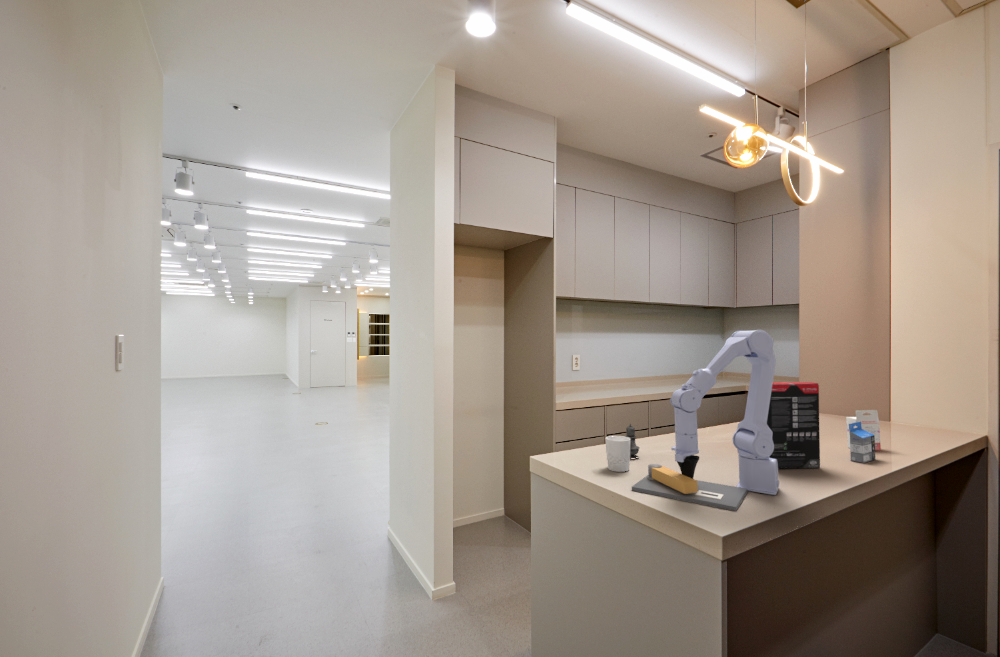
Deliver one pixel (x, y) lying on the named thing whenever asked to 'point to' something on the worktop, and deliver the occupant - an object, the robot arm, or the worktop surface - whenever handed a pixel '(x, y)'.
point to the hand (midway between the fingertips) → (688, 482)
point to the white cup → (618, 453)
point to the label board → (696, 493)
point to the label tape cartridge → (861, 444)
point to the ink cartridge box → (866, 425)
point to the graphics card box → (795, 424)
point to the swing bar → (672, 479)
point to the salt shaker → (632, 441)
